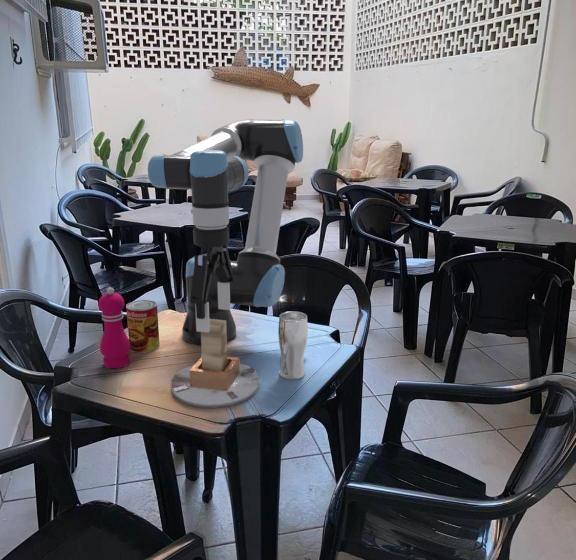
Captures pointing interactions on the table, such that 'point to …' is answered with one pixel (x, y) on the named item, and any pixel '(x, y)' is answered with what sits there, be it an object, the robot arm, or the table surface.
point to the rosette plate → (215, 385)
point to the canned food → (143, 326)
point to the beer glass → (292, 344)
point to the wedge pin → (214, 346)
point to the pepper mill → (113, 331)
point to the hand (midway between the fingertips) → (214, 319)
